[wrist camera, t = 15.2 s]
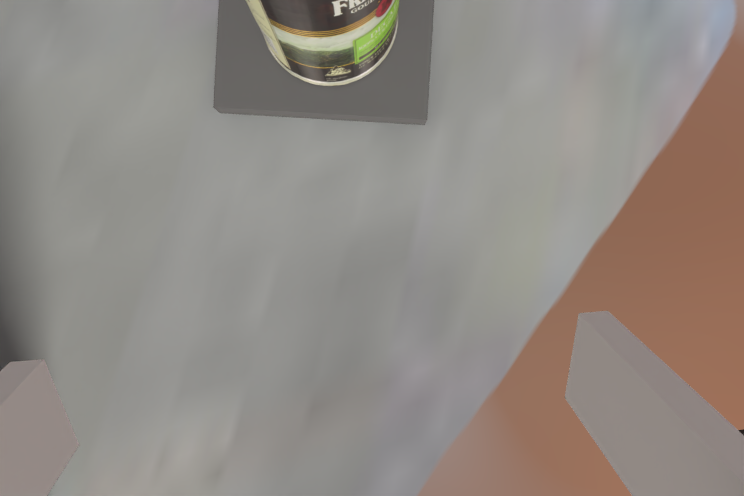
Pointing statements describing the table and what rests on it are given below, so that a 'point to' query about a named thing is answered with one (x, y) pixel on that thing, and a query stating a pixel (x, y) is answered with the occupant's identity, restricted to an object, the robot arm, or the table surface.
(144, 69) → the table surface
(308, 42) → the coffee can
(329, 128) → the table surface
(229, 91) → the mat
